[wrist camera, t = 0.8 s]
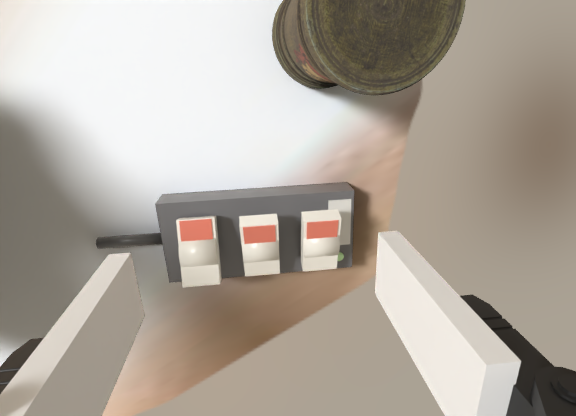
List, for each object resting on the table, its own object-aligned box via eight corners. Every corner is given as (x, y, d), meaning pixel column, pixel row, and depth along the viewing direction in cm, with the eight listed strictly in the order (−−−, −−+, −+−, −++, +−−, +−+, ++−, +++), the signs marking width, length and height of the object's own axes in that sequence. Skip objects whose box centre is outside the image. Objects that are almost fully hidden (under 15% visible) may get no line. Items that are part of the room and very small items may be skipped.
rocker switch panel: (112, 273, 41) (101, 289, 38) (94, 199, 37) (80, 209, 34) (345, 254, 43) (352, 267, 40) (346, 182, 40) (354, 191, 37)
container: (262, -4, 32) (276, -87, 16) (358, -26, 33) (474, -130, 16) (283, 97, 36) (313, 118, 19) (370, 77, 36) (476, 81, 19)
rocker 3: (299, 255, 39) (303, 276, 37) (300, 206, 35) (304, 226, 33) (331, 252, 40) (338, 273, 37) (335, 203, 36) (343, 223, 33)
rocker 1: (187, 279, 37) (180, 289, 34) (181, 216, 36) (174, 221, 33) (222, 276, 37) (219, 286, 34) (217, 214, 37) (213, 218, 33)
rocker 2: (244, 259, 39) (245, 281, 36) (239, 210, 35) (239, 231, 32) (277, 256, 39) (280, 278, 37) (276, 208, 35) (278, 228, 33)
